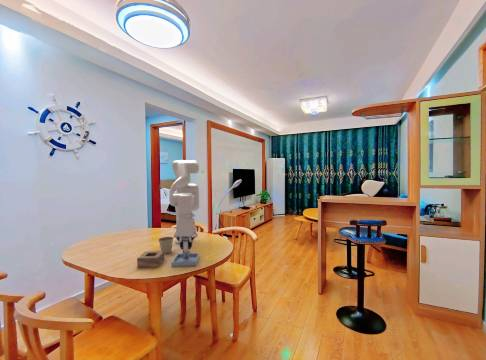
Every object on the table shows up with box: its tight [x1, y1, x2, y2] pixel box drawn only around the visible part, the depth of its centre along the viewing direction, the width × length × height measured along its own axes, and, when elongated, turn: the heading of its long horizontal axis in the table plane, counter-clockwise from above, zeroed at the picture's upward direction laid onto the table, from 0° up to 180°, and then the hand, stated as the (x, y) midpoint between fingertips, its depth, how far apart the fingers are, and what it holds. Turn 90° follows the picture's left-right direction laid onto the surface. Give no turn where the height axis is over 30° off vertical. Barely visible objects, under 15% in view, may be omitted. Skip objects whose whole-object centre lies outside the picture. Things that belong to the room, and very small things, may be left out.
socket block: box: [136, 250, 165, 269], centre depth 127 cm, size 11×11×5 cm
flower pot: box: [157, 236, 175, 255], centre depth 145 cm, size 9×9×9 cm
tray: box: [171, 252, 200, 268], centre depth 129 cm, size 13×13×2 cm
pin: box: [181, 237, 191, 260], centre depth 129 cm, size 5×5×12 cm
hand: (186, 248), depth 129 cm, fingers closed on pin, 3 cm apart
